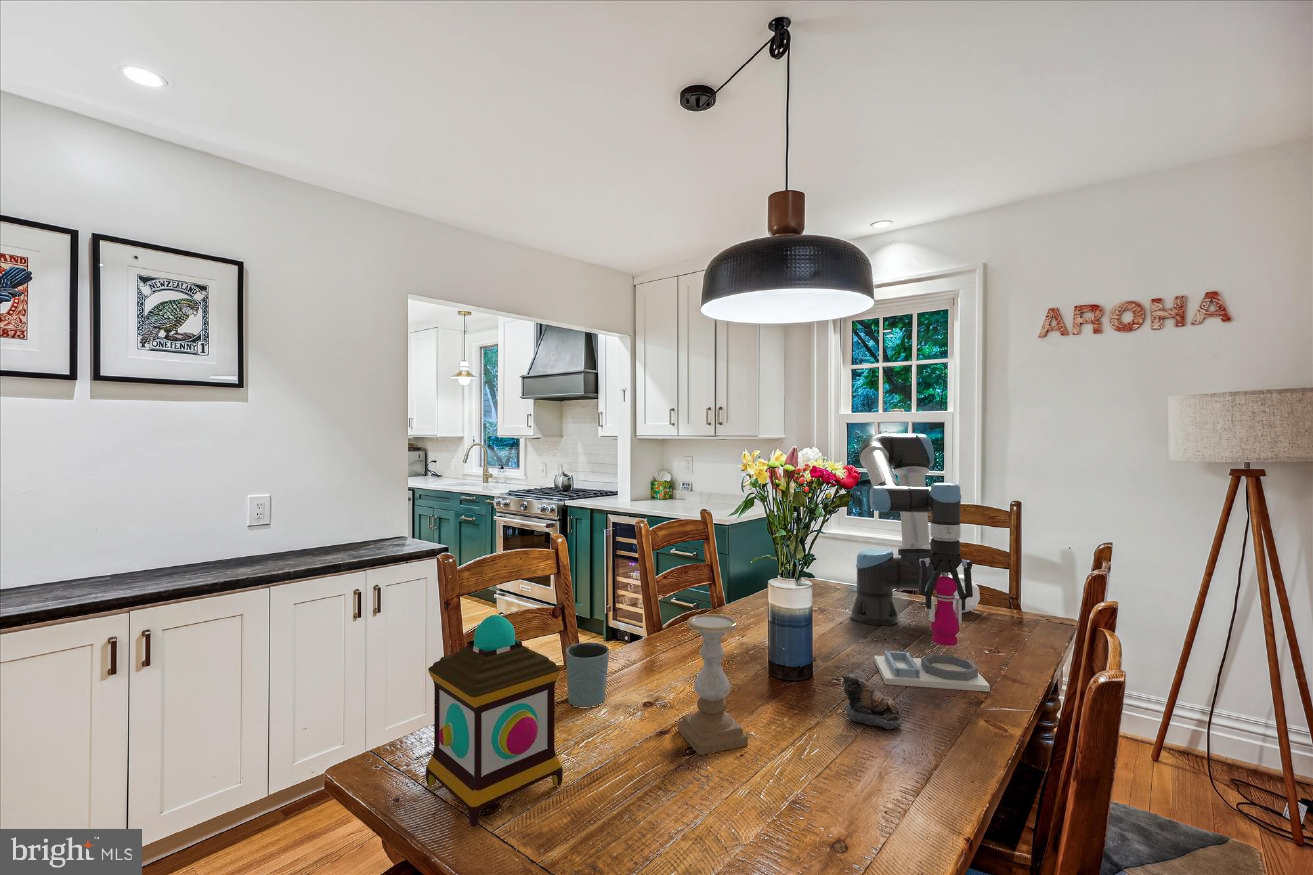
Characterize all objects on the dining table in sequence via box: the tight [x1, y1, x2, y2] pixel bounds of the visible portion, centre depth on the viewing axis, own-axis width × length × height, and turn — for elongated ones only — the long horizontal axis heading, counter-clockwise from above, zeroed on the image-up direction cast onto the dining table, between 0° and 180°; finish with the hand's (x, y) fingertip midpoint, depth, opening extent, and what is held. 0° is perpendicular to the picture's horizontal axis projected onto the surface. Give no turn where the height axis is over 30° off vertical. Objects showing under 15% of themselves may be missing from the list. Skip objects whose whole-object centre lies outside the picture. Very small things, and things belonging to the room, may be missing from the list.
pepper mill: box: [930, 572, 960, 647], centre depth 168 cm, size 7×7×20 cm
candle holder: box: [677, 613, 749, 756], centre depth 122 cm, size 11×11×24 cm
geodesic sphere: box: [948, 574, 981, 614], centre depth 213 cm, size 14×14×14 cm
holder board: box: [873, 650, 991, 693], centre depth 155 cm, size 16×24×4 cm, turn 80°
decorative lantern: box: [425, 614, 564, 828], centre depth 105 cm, size 20×20×30 cm
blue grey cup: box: [565, 642, 610, 707], centre depth 139 cm, size 10×10×12 cm
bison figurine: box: [842, 673, 903, 730], centre depth 128 cm, size 12×7×10 cm, turn 70°
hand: (945, 620), depth 168 cm, fingers closed on pepper mill, 6 cm apart
